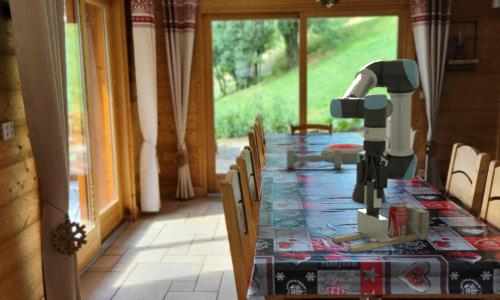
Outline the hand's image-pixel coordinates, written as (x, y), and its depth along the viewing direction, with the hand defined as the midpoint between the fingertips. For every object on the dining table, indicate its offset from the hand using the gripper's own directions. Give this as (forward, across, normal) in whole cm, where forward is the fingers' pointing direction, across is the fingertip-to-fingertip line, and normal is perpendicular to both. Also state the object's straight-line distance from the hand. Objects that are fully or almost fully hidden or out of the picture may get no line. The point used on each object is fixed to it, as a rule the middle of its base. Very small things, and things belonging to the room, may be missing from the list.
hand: (372, 205), depth 162 cm
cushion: (+13, -137, +86) cm, 162 cm away
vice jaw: (+11, 0, 0) cm, 11 cm away
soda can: (+13, 0, +11) cm, 18 cm away
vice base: (+13, 0, +3) cm, 14 cm away
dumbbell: (+13, -119, +48) cm, 129 cm away
